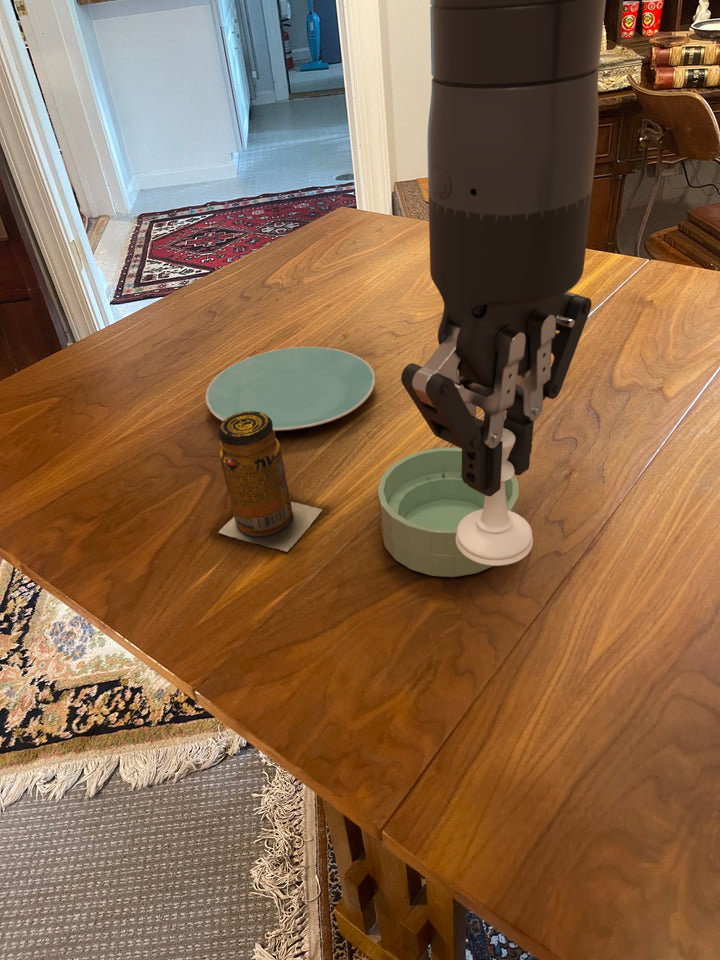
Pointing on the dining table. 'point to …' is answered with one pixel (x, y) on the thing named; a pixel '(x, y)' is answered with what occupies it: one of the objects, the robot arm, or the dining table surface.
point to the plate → (293, 386)
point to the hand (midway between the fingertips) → (497, 477)
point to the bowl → (431, 511)
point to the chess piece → (496, 523)
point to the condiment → (259, 484)
